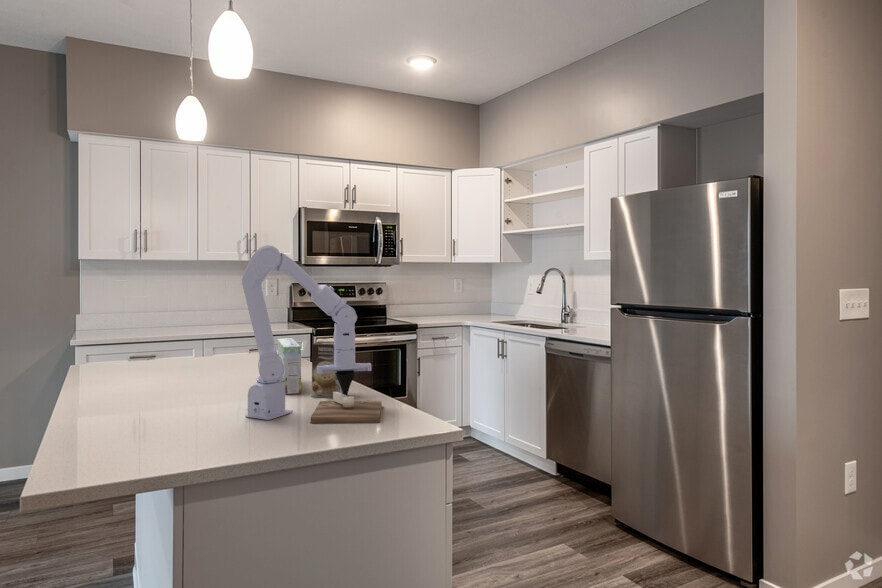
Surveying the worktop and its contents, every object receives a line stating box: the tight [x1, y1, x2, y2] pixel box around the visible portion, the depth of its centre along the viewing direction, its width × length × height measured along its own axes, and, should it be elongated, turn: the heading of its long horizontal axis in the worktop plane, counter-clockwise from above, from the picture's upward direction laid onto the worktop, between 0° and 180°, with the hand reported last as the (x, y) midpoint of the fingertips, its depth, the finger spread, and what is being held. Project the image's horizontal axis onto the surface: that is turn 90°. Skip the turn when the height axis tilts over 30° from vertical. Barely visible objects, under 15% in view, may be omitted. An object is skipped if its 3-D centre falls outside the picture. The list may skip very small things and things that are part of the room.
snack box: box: [277, 337, 302, 396], centre depth 189 cm, size 21×6×15 cm, turn 21°
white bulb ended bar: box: [332, 392, 355, 407], centre depth 158 cm, size 10×3×2 cm, turn 35°
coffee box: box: [310, 341, 342, 399], centre depth 178 cm, size 9×6×16 cm
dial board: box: [310, 400, 383, 424], centre depth 155 cm, size 18×17×2 cm
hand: (344, 398), depth 161 cm, fingers closed
